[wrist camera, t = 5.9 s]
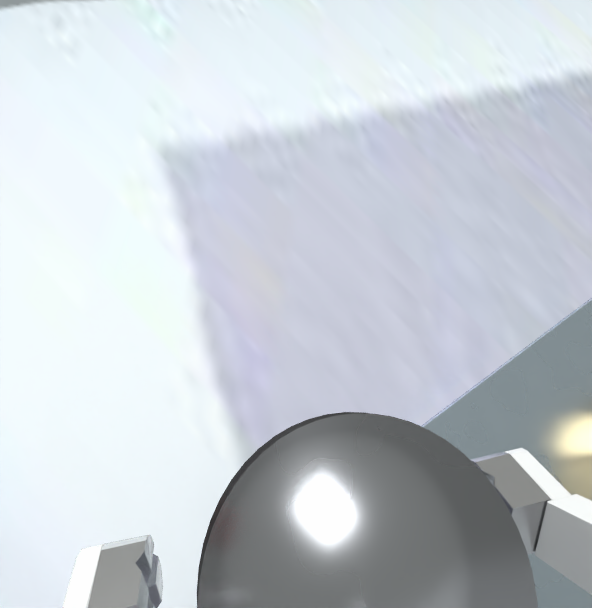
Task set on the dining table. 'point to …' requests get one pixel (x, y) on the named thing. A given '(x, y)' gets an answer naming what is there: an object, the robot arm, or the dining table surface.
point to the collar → (536, 424)
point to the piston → (362, 524)
